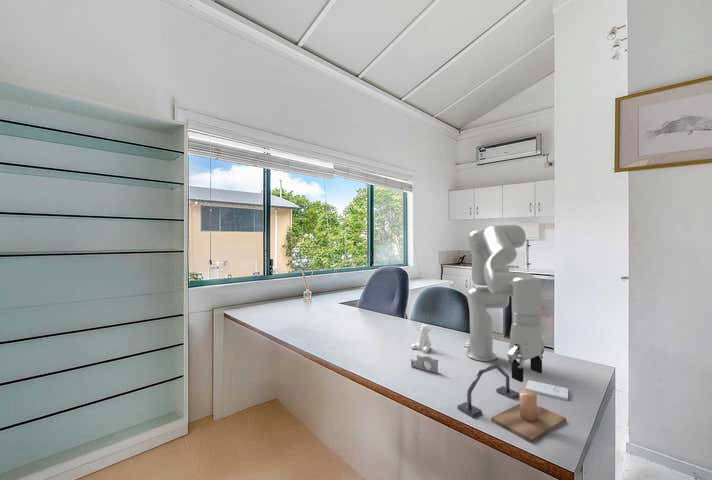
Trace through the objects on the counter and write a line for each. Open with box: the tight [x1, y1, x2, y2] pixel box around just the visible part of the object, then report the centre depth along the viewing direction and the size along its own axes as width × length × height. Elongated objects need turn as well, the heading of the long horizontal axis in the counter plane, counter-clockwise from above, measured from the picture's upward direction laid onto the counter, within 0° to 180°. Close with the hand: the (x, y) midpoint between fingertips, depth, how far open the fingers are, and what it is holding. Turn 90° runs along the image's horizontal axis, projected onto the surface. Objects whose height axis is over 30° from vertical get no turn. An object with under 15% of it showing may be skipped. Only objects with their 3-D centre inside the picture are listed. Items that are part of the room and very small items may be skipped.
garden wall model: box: [410, 354, 440, 373], centre depth 131 cm, size 12×2×6 cm, turn 54°
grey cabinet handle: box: [457, 363, 520, 418], centre depth 104 cm, size 6×24×12 cm, turn 121°
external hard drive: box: [524, 379, 569, 402], centre depth 110 cm, size 2×8×12 cm
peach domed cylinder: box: [519, 389, 538, 422], centre depth 93 cm, size 4×4×7 cm
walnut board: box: [490, 403, 567, 444], centre depth 93 cm, size 12×18×1 cm, turn 121°
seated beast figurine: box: [410, 324, 432, 354], centre depth 154 cm, size 10×9×12 cm
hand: (527, 375), depth 93 cm, fingers open, 9 cm apart
